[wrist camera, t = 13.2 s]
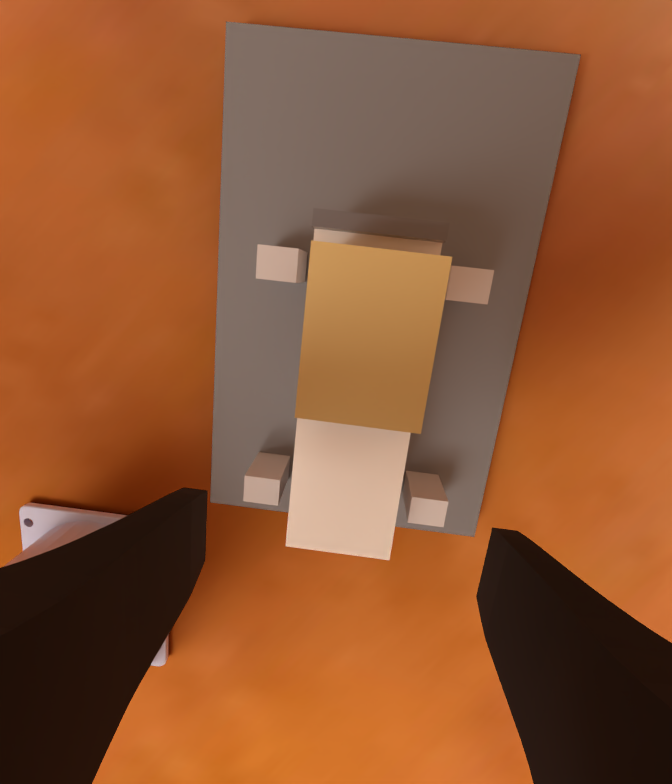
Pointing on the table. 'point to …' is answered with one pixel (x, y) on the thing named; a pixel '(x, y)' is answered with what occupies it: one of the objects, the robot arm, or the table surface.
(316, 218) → the cream rectangular block
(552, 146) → the jig
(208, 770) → the table surface
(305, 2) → the table surface
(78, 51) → the table surface
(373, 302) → the tan rectangular block
